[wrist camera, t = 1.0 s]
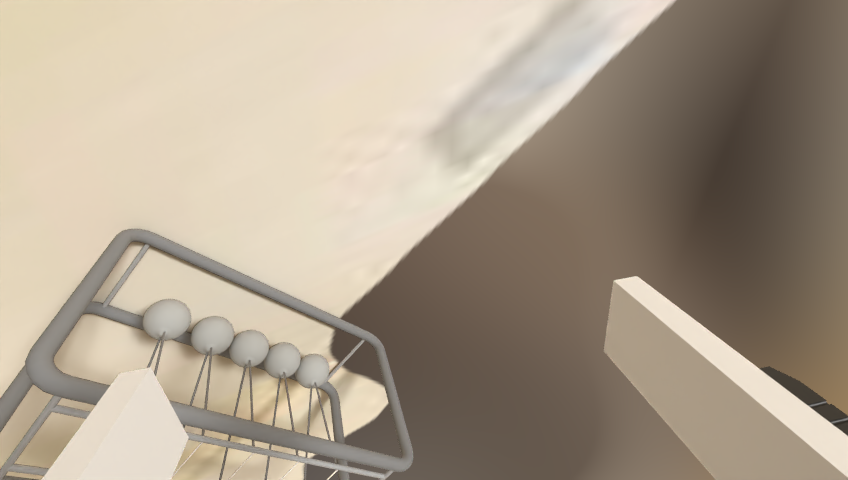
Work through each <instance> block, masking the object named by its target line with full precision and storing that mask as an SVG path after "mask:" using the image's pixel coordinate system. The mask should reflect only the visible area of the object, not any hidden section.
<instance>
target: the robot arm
mask: <svg viewBox="0 0 848 480" xmlns="http://www.w3.org/2000/svg"><path fill="white" fill-rule="evenodd" d="M604 352H605V353H606V354H607V355H608V356H609V358H610V359H611V360H612V361H613V362H614V363H615V364H616V366H617V367H618V368H619V369H620V370H621V371H622V373H623V374H624V375H625V376H626V377H627V378H628V379H629V380H630V382H631V383H632V384H633V385H634V386H635V388H636V389H637V390H638V391H639V392H640V393H641V394H642V395H643V397H644V398H645V399H646V400H647V401H648V402H649V404H650V405H651V406H652V407H653V408H654V409H655V410H656V412H657V413H658V414H659V415H660V416H661V417H662V419H663V420H664V421H665V422H666V423H667V424H668V425H669V427H670V428H671V429H672V430H673V431H674V432H675V434H677V436H678V437H679V438H680V439H681V440H682V442H683V443H684V444H685V445H686V446H687V447H688V448H689V450H690V451H691V452H692V453H693V454H694V455H695V457H696V458H697V459H698V460H699V461H700V462H701V463H702V465H703V466H704V467H705V468H706V469H707V470H708V472H709V473H710V474H711V475H712V476H713V477H714V478H715V480H848V416H847V415H846V414H845V413H843V412H842V411H840V410H839V409H838V408H836V407H835V406H834V405H832V404H830V405H829V404H827V402H826V400H825V399H824V398H822V397H821V396H819V395H818V394H817V393H815V392H814V391H813V390H811V389H810V388H808V387H807V386H806V385H804V384H803V383H801V382H800V381H798V380H796V379H794V378H792V377H790V376H788V375H786V374H784V373H781V372H780V371H777V370H775V369H773V368H771V367H765V368H761V369H759V368H757V367H756V366H755V365H754V364H752V363H751V362H749V361H748V360H747V359H746V358H744V357H743V356H742V355H740V354H739V353H738V352H736V351H735V350H734V349H732V348H731V347H730V346H728V345H727V344H726V343H724V342H723V341H722V340H721V339H719V338H718V337H717V336H715V335H714V334H713V333H711V332H710V331H708V330H707V329H706V328H705V327H703V326H702V325H701V324H699V323H698V322H697V321H695V320H694V319H693V318H692V317H690V316H689V315H687V314H686V313H685V312H684V311H682V310H681V309H680V308H678V307H677V306H676V305H674V304H673V303H672V302H670V301H669V300H668V299H666V298H665V297H664V296H662V295H661V294H660V293H659V292H657V291H655V290H654V289H653V288H652V287H650V286H649V285H648V284H646V283H645V282H644V281H643V280H641V279H640V278H639V277H637V276H636V277H630V278H624V279H620V280H614V281H613V288H612V295H611V303H610V310H609V317H608V324H607V332H606V339H605V346H604ZM188 438H189V437H188V435H187V433H186V432H185V430H184V428H183V426H182V424H181V422H180V420H179V419H178V417H177V415H176V413H175V411H174V409H173V407H172V406H171V404H170V402H169V400H168V398H167V396H166V395H165V393H164V391H163V389H162V387H161V385H160V383H159V382H158V380H157V378H156V376H155V374H154V372H153V371H152V369H151V367H149V368H144V369H138V370H133V371H128V372H122V373H119V374H118V376H117V377H116V379H115V380H114V381H113V383H112V384H111V385H110V387H109V388H108V389H107V391H106V392H105V394H104V395H103V396H102V398H101V399H100V400H99V402H98V403H97V405H96V406H95V407H94V409H93V410H92V411H91V413H90V414H89V415H88V417H87V418H86V420H85V421H84V422H83V424H82V425H81V426H80V428H79V429H78V431H77V432H76V433H75V435H74V436H73V437H72V439H71V440H70V441H69V443H68V444H67V446H66V447H65V448H64V450H63V451H62V452H61V454H60V455H59V457H58V458H57V459H56V461H55V462H54V463H53V465H52V466H51V467H50V469H49V470H48V472H47V473H46V474H45V476H44V477H43V478H42V480H171V479H172V476H173V474H174V471H175V469H176V467H177V464H178V462H179V460H180V457H181V455H182V453H183V450H184V448H185V445H186V443H187V441H188Z"/></svg>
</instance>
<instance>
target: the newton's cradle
mask: <svg viewBox="0 0 848 480" xmlns="http://www.w3.org/2000/svg"><path fill="white" fill-rule="evenodd" d="M131 242H143V243H145V245H144V247H143V248H142V249H141V251H140V252H139V254H138V255H137V256H136V258H135V259H134V261H133V262H132V264H131V265H130V266H129V268H128V269H127V271H126V272H125V273H124V275H123V276H122V278H121V279H120V280H119V282H118V283H117V285H116V286H115V287H114V289H113V290H112V292H111V293H110V295H109V296H108V297H107V299H106V300H105V302H104V303H99V302H91V301H92V299H93V298H94V296H95V295H96V293H97V292H98V290H99V289H100V287H101V286H102V284H103V283H104V281H105V280H106V278H107V277H108V275H109V274H110V272H111V271H112V269H113V268H114V266H115V265H116V263H117V262H118V260H119V259H120V257H121V256H122V254H123V253H124V251H125V250H126V248H127V247H128V245H129V244H130V243H131ZM150 245H151V246H153V247H155V248H157V249H160V250H162V251H164V252H166V253H169V254H171V255H173V256H175V257H178V258H180V259H182V260H184V261H187V262H189V263H191V264H194V265H196V266H198V267H200V268H203V269H205V270H207V271H209V272H212V273H214V274H216V275H218V276H221V277H223V278H225V279H227V280H230V281H232V282H234V283H236V284H239V285H241V286H243V287H245V288H248V289H250V290H252V291H255V292H257V293H259V294H261V295H264V296H266V297H268V298H270V299H273V300H275V301H277V302H279V303H282V304H284V305H286V306H288V307H291V308H293V309H295V310H297V311H300V312H302V313H304V314H307V315H309V316H311V317H313V318H316V319H318V320H320V321H322V322H325V323H327V324H329V325H331V326H334V327H336V328H338V329H340V330H343V331H345V332H347V333H350V334H352V335H354V336H356V337H358V338H361V339H362V340H361V341H360V342H359V343H358V344H357V345H356V346H355V347H354V348H353V349H352V351H351V352H350V353H349V354H348V355H347V356H346V357H345V358H344V359H343V360H342V361H341V362H340V363H339V364H338V366H337V367H336V368H335V369H334V370H333V371H332V372H331V373H330V374H329V364H328V362H327V360H326V359H325V358H324V357H323V356H321V355H318V354H309V355H306V356H305V357H303V358H302V359H301V357H300V353H299V351H298V349H297V348H296V347H295V346H294V345H292V344H290V343H285V342H283V343H278V344H276V345H274V346H272V347H271V348H270V349H269V343H268V340H267V338H266V337H265V335H264V334H262V333H261V332H259V331H256V330H247V331H243V332H241V333H239V334H238V335H237V336H236V337H235V338H234V329H233V326H232V324H231V323H230V322H229V321H228V320H227V319H225V318H223V317H219V316H211V317H207V318H204V319H202V320H201V321H199V322H198V323H197V324H196V325H195V327H194V328H193V330H192V333H191V334H190V333H187V332H185V331H186V330H187V329H188V327H189V325H190V323H191V313H190V310H189V308H188V307H187V306H186V305H185V304H184V303H183V302H181V301H178V300H175V299H164V300H160V301H158V302H156V303H154V304H153V305H151V306H150V307H149V308H148V309H147V311H146V312H145V314H144V317H141V316H139V315H136V314H133V313H130V312H127V311H124V310H121V309H118V308H115V307H113V306H110V305H108V304H109V303H110V301H111V300H112V299H113V297H114V296H115V294H116V293H117V292H118V290H119V289H120V287H121V286H122V285H123V283H124V282H125V280H126V279H127V278H128V276H129V275H130V273H131V272H132V270H133V269H134V268H135V266H136V265H137V263H138V262H139V261H140V259H141V258H142V256H143V255H144V254H145V252H146V251H147V249H148V248H149V247H150ZM82 314H96V315H100V316H103V317H106V318H109V319H112V320H115V321H118V322H121V323H124V324H127V325H130V326H133V327H136V328H139V329H142V330H145V331H146V333H147V334H148V335H149V336H151V337H153V338H154V339H157V340H158V342H157V345H156V347H155V350H154V352H153V354H152V357H151V359H150V362H149V364H148V367H147V368H149V367H150V365H151V363H152V360H153V358H154V355H155V353H156V350H157V348H158V345H159V343H160V340H162V341H161V346H160V350H159V354H158V358H157V363H156V367H155V371H154V374H155V376H156V373H157V369H158V364H159V360H160V356H161V351H162V347H163V342H164V340H171V339H172V340H175V341H178V342H181V343H184V344H187V345H190V346H193V347H194V349H195V350H196V351H198V352H199V353H201V354H204V355H206V356H205V359H204V362H203V365H202V368H201V371H200V374H199V378H198V381H197V384H196V387H195V390H194V393H193V396H192V399H191V402H190V405H185V404H181V403H177V402H173V401H169V402H170V404H171V406H172V407H173V409H174V411H175V413H176V415H177V417H178V419H179V420H180V422H181V424H183V428H185V425H188V426H192V427H197V428H201V429H202V435H197V434H193V433H188V432H186V433H187V435H188V437H189V438H188V440H193V441H198V442H201V443H200V444H199V446H200V445H201V444H202V443H208V444H213V445H218V446H223V447H226V451H225V456H224V460H223V464H222V469H221V473H220V478H219V480H221V478H222V474H223V469H224V465H225V460H226V456H227V452H228V448H232V449H237V450H242V451H247V452H252V454H251V455H250V456H249V457H248V459H249V458H250V457H251V456H252V455H253V454H254V453H257V454H262V455H267V456H268V460H267V467H266V474H265V480H267V473H268V466H269V459H270V456H272V457H277V458H282V459H287V460H292V461H297V463H296V464H295V465H294V466H293V467H292V468H291V469H290V470H289V471H288V472H287V473H286V474H285V475H284V476H283V477H282V478H281V479H280V480H282V479H283V478H284V477H285V476H286V475H287V474H288V473H289V472H290V471H291V470H292V469H293V468H294V467H295V466H296V465H297V464H298V463H299V462H301V463H305V471H304V480H306V467H307V464H311V465H316V466H321V467H326V468H331V469H336V471H335V472H337V471H338V478H339V480H349V473H348V472H351V473H356V474H361V475H366V476H370V477H376V478H379V479H378V480H385V479H386V478H387V477H388V476H389V475H390V474H391V473H392V472H393V471H395V472H403V471H405V470H407V469H408V468H409V467H410V466H411V464H412V462H413V450H412V445H411V442H410V438H409V435H408V431H407V427H406V424H405V420H404V417H403V413H402V410H401V406H400V402H399V399H398V396H397V392H396V388H395V384H394V381H393V378H392V374H391V370H390V367H389V363H388V359H387V356H386V353H385V350H384V347H383V345H382V343H381V342H380V340H379V339H378V338H377V337H376V336H374V335H373V334H372V333H370V332H368V331H366V330H363V329H361V328H359V327H357V326H355V325H353V324H350V323H348V322H346V321H344V320H342V319H340V318H337V317H335V316H333V315H331V314H329V313H327V312H324V311H322V310H320V309H318V308H316V307H314V306H311V305H309V304H307V303H305V302H303V301H301V300H298V299H296V298H294V297H292V296H290V295H288V294H285V293H283V292H281V291H279V290H277V289H275V288H272V287H270V286H268V285H266V284H264V283H261V282H259V281H257V280H255V279H253V278H251V277H248V276H246V275H244V274H242V273H240V272H238V271H235V270H233V269H231V268H229V267H227V266H225V265H222V264H220V263H218V262H216V261H214V260H212V259H209V258H207V257H205V256H203V255H201V254H199V253H196V252H194V251H192V250H190V249H188V248H185V247H183V246H181V245H179V244H177V243H175V242H172V241H170V240H168V239H166V238H164V237H162V236H159V235H157V234H155V233H152V232H150V231H146V230H142V229H128V230H124V231H122V232H120V233H119V234H118V235H116V237H115V238H114V239H113V240H112V242H111V243H110V244H109V246H108V247H107V248H106V250H105V251H104V252H103V254H102V255H101V256H100V258H99V259H98V260H97V262H96V263H95V264H94V266H93V267H92V268H91V270H90V271H89V272H88V274H87V275H86V276H85V278H84V279H83V280H82V282H81V283H80V284H79V286H78V287H77V288H76V290H75V291H74V292H73V294H72V295H71V296H70V298H69V299H68V300H67V302H66V303H65V304H64V306H63V307H62V308H61V310H60V311H59V312H58V314H57V315H56V316H55V318H54V319H53V320H52V321H51V323H50V324H49V325H48V327H47V328H46V329H45V331H44V332H43V333H42V335H41V336H40V337H39V339H38V340H37V341H36V343H35V344H34V345H33V347H32V348H31V350H30V352H29V354H28V356H27V358H26V361H25V366H24V367H23V368H22V370H21V371H20V372H19V374H18V375H17V377H16V378H15V379H14V381H13V382H12V383H11V385H10V386H9V387H8V389H7V390H6V391H5V393H4V394H3V396H2V397H1V398H0V432H1V431H2V429H3V428H4V426H5V425H6V423H7V422H8V420H9V419H10V418H11V416H12V415H13V413H14V412H15V410H16V409H17V407H18V406H19V404H20V403H21V401H22V400H23V398H24V397H25V395H26V394H27V392H28V391H29V389H30V388H31V386H32V385H33V384H34V385H35V386H37V387H38V388H40V389H41V390H42V391H44V392H46V393H49V394H52V395H54V396H53V397H52V399H51V400H50V401H49V403H48V404H47V405H46V407H45V408H44V410H43V411H42V412H41V414H40V415H39V417H38V418H37V419H36V421H35V422H34V423H33V425H32V426H31V428H30V429H29V430H28V432H27V433H26V435H25V436H24V437H23V439H22V440H21V441H20V443H19V444H18V446H17V447H16V448H15V450H14V451H13V453H12V454H11V455H10V457H9V458H8V459H7V461H6V462H5V464H4V465H3V466H2V468H1V469H0V480H37V479H29V478H21V477H13V476H5V475H6V473H7V472H8V471H11V472H19V473H27V474H35V475H42V476H45V474H46V473H47V472H48V470H49V468H41V467H34V466H27V465H20V464H14V462H15V461H16V460H17V458H18V457H19V456H20V454H21V453H22V452H23V450H24V449H25V447H26V446H27V445H28V443H29V442H30V441H31V439H32V438H33V436H34V435H35V434H36V432H37V431H38V430H39V428H40V427H41V426H42V424H43V423H44V421H45V420H46V419H47V417H48V416H49V415H50V413H51V412H55V413H60V414H65V415H70V416H75V417H80V418H85V419H86V418H87V417H88V415H89V414H90V413H91V412H89V411H84V410H80V409H75V408H70V407H66V406H61V405H57V404H58V402H59V401H60V399H61V398H66V399H70V400H75V401H79V402H84V403H88V404H93V405H97V403H98V402H99V400H100V399H101V398H102V396H103V395H104V394H105V392H106V391H107V389H108V388H109V387H110V386H109V385H105V384H101V383H97V382H93V381H89V380H85V379H81V378H77V377H73V376H70V375H67V374H65V373H63V372H61V371H60V370H59V369H57V367H56V366H55V364H54V356H55V354H56V353H57V351H58V350H59V348H60V347H61V345H62V344H63V342H64V341H65V339H66V338H67V336H68V335H69V333H70V332H71V330H72V329H73V327H74V326H75V324H76V323H77V322H78V320H79V319H80V317H81V316H82ZM233 338H234V339H233ZM364 341H367V342H369V343H370V344H371V345H372V346H373V347H374V349H375V351H376V354H377V358H378V362H379V366H380V370H381V374H382V378H383V382H384V386H385V390H386V394H387V398H388V402H389V406H390V410H391V414H392V417H393V422H394V426H395V429H396V433H397V437H398V441H399V445H400V449H401V455H402V456H401V458H398V457H394V456H390V455H386V454H382V453H378V452H374V451H370V450H366V449H362V448H358V447H354V446H350V445H345V441H344V433H343V426H342V418H341V410H340V402H339V396H338V393H337V391H336V389H335V388H334V387H333V386H332V385H331V384H330V383H329V382H327V381H328V380H329V378H330V377H331V376H332V375H333V374H334V373H335V372H336V371H337V370H338V369H339V368H340V367H341V366H342V365H343V364H344V362H345V361H346V360H347V359H348V358H349V357H350V356H351V355H352V354H353V353H354V352H355V351H356V350H357V349H358V347H360V345H361V344H362V343H363V342H364ZM230 344H231V345H230ZM229 346H230V347H229ZM216 354H218V355H221V356H224V357H227V358H230V359H232V361H233V362H234V363H235V364H237V365H238V366H241V367H244V372H243V376H242V381H241V385H240V389H239V394H238V398H237V403H236V407H235V412H234V416H230V415H226V414H222V413H218V412H214V411H210V410H207V400H208V390H209V380H210V369H211V359H212V355H216ZM208 355H210V359H209V369H208V379H207V388H206V398H205V408H204V409H202V408H198V407H194V406H192V403H193V400H194V396H195V393H196V390H197V387H198V384H199V381H200V378H201V374H202V371H203V368H204V365H205V362H206V359H207V356H208ZM253 366H254V367H257V368H260V369H263V370H266V371H267V372H268V374H269V375H271V376H272V377H275V378H279V384H278V391H277V398H276V405H275V412H274V418H273V425H272V426H270V425H266V424H262V423H258V422H254V421H253V399H252V376H251V367H253ZM248 367H249V372H250V399H251V421H250V420H246V419H242V418H238V417H235V416H236V411H237V407H238V402H239V398H240V393H241V389H242V384H243V380H244V375H245V371H246V368H248ZM286 377H287V378H290V379H293V380H296V381H298V382H299V384H300V385H302V386H303V387H305V388H311V390H310V403H309V417H308V430H307V435H306V434H302V433H298V432H295V431H294V425H293V418H292V412H291V406H290V399H289V393H288V387H287V381H286ZM281 378H285V385H286V392H287V398H288V405H289V411H290V418H291V424H292V431H290V430H286V429H282V428H278V427H274V424H275V417H276V409H277V402H278V395H279V388H280V381H281ZM312 388H316V390H317V394H318V398H319V402H320V406H321V410H322V414H323V418H324V422H325V426H326V430H327V434H328V438H329V440H326V439H322V438H318V437H314V436H310V435H309V425H310V411H311V397H312ZM318 388H320V389H322V390H324V391H325V392H326V393H327V394H328V395H329V397H330V403H331V413H332V422H333V432H334V441H335V442H334V441H331V439H330V435H329V431H328V427H327V423H326V419H325V415H324V411H323V408H322V404H321V400H320V396H319V392H318ZM205 429H206V430H210V431H215V432H219V433H224V434H228V435H229V438H228V441H226V440H221V439H216V438H212V437H207V436H204V431H205ZM231 435H233V436H237V437H242V438H246V439H251V440H252V446H249V445H245V444H240V443H235V442H230V438H231ZM254 440H255V441H260V442H264V443H269V444H270V446H269V450H268V449H263V448H259V447H255V445H254ZM272 444H273V445H278V446H282V447H287V448H291V449H295V450H296V455H292V454H287V453H282V452H278V451H273V450H271V445H272ZM199 446H198V447H197V448H196V449H195V450H194V451H193V452H192V453H191V455H190V456H189V457H188V458H187V459H186V460H185V461H184V463H185V462H186V461H187V460H188V459H189V458H190V457H191V456H192V454H193V453H194V452H195V451H196V450H197V449H198V448H199ZM298 450H301V451H305V452H306V457H301V456H298ZM308 452H310V453H314V454H319V455H323V456H328V457H332V458H334V462H335V464H334V463H329V462H325V461H320V460H315V459H311V458H307V453H308ZM335 458H336V459H335ZM248 459H247V460H248ZM247 460H246V461H247ZM336 460H337V463H336ZM246 461H245V462H246ZM347 461H350V462H355V463H360V464H364V465H368V466H373V467H378V468H382V469H386V470H388V471H387V472H386V473H385V474H381V473H376V472H371V471H367V470H362V469H358V468H353V467H348V465H347ZM245 462H244V463H243V464H242V465H241V466H240V467H239V468H238V469H237V470H236V471H235V472H234V474H235V473H236V472H237V471H238V470H239V469H240V468H241V467H242V466H243V465H244V464H245ZM184 463H183V464H182V465H181V466H180V467H179V468H178V469H177V471H178V470H179V469H180V468H181V467H182V466H183V465H184ZM177 471H176V472H175V473H174V474H173V476H174V475H175V474H176V473H177ZM335 472H334V473H333V474H335ZM234 474H233V475H234ZM333 474H332V475H333ZM233 475H232V476H233ZM332 475H331V476H332ZM173 476H172V477H173ZM232 476H231V477H232ZM331 476H330V477H331ZM231 477H230V478H229V479H228V480H230V479H231ZM330 477H329V478H330ZM329 478H328V479H329ZM328 479H327V480H328Z"/></svg>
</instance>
